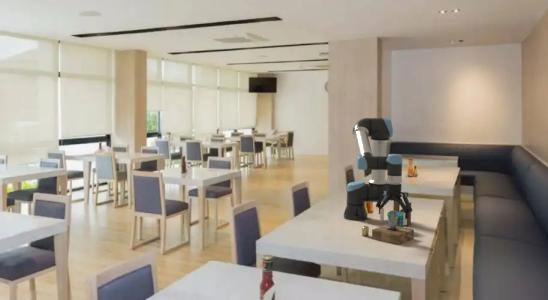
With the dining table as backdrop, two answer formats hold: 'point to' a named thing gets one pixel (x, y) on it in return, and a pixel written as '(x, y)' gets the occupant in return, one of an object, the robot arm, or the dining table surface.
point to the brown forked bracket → (396, 208)
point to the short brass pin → (365, 231)
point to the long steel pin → (393, 220)
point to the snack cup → (399, 219)
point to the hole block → (393, 234)
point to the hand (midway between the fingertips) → (393, 222)
